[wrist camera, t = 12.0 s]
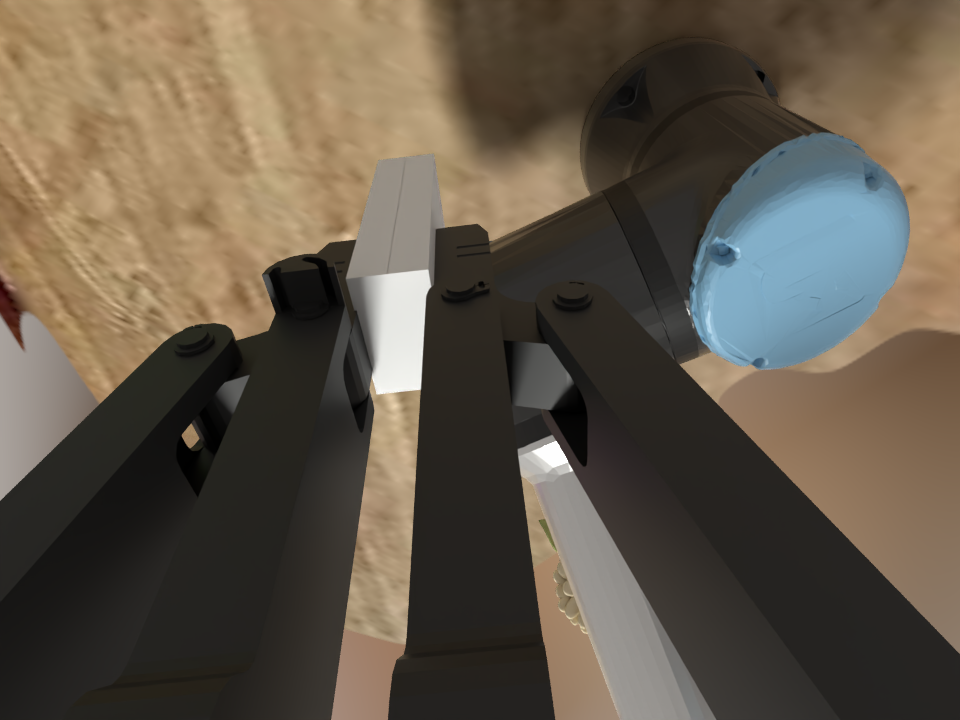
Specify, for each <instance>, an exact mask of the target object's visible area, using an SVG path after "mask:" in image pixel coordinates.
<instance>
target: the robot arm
mask: <svg viewBox="0 0 960 720" xmlns="http://www.w3.org/2000/svg"><path fill="white" fill-rule="evenodd" d="M580 162H581V170H582V175H583V178H584V181H585V184H586V187H587V189H588V191H589V193H590V196H588V197H586V198H584V199H582V200H580V201H578V202H576V203H574V204H572V205H569V206H567V207H565V208H563V209H561V210H559V211H557V212H555V213H553V214H551V215H548V216H546V217H544V218H542V219H540V220H538V221H535V222H533V223H531V224H529V225H527V226H525V227H522V228H520V229H518V230H516V231H514V232H511V233H509V234H507V235H505V236H503V237H501V238H498V239H496V240H494V241H489V237H488V232H487V231H486V230H484V229H483V228H482V227H481V226H480V225H478V224H473V225H464V226H456V227H447V228H445V226H444V219H443V212H442V205H441V199H440V192H439V185H438V178H437V171H436V165H435V158H434V154H427V155H418V156H410V157H401V158H393V159H385V160H378V164H377V168H376V171H375V175H374V178H373V182H372V186H371V189H370V193H369V197H368V200H367V204H366V207H365V211H364V215H363V218H362V222H361V226H360V229H359V233H358V236H357V240H349V241H341V242H332V243H329V244H328V245H326V246H325V247H324V248H323V249H322V250H321V251H320V252H318V253H317V254H303V255H298V256H293V257H290V258H287V259H284V260H282V261H279V262H277V263H275V264H274V265H272V266H270V267H269V268H267V270H266V271H265V272H264V273H263V274H262V277H263V280H264V282H265V285H266V288H267V291H268V293H269V296H270V299H271V302H272V304H273V307H274V310H275V313H276V314H275V317H274V319H273V321H272V324H271V326H270V329H269V331H266V332H263V333H261V334H258V335H254V336H251V337H247V338H244V339H241V340H237V341H236V339H235V337H234V334H233V332H232V330H231V329H230V328H229V327H227V326H226V325H222V324H216V323H212V324H199V325H195V326H194V327H193V326H191V327H188V328H185V329H184V330H183V331H181V332H179V333H177V334H175V335H173V336H172V337H170V338H169V339H168V340H166V341H165V342H164V343H163V344H161V345H160V346H159V347H158V348H157V349H156V350H155V351H154V352H153V353H152V354H151V355H150V356H149V357H148V358H147V359H146V360H145V361H144V362H143V363H142V364H141V365H140V366H139V367H138V368H137V369H136V370H135V371H134V372H133V373H132V374H131V375H130V376H128V377H127V378H126V379H125V380H124V381H123V382H122V383H121V384H120V385H119V386H118V387H117V388H116V389H115V390H114V391H113V392H112V393H111V394H110V395H109V396H108V397H107V398H106V399H105V400H104V401H103V402H102V403H101V404H100V405H99V406H98V407H97V408H95V409H94V410H93V411H92V412H91V413H90V414H89V416H87V417H86V418H85V419H84V420H83V421H82V422H81V423H80V424H79V425H78V426H77V427H76V428H75V429H74V430H73V431H72V432H71V433H70V434H69V435H68V436H67V437H66V438H65V439H63V440H62V442H60V443H59V444H58V445H57V446H56V447H55V448H54V449H53V450H52V451H51V452H50V453H49V454H48V455H47V456H46V457H45V458H44V459H43V460H42V461H41V462H40V463H39V464H38V465H37V466H36V467H35V468H34V469H33V470H32V471H30V472H29V473H28V474H27V475H26V476H25V478H23V479H22V480H21V481H20V482H19V483H18V484H17V485H16V486H15V487H14V488H13V489H12V490H11V491H10V492H9V493H8V494H7V495H6V496H5V497H4V498H3V499H2V500H1V501H0V720H331V716H332V709H333V702H334V694H335V688H336V680H337V673H338V666H339V658H340V651H341V645H342V638H343V630H344V623H345V616H346V609H347V602H348V595H349V588H350V580H351V573H352V566H353V559H354V552H355V545H356V538H357V531H358V523H359V516H360V509H361V502H362V495H363V488H364V481H365V473H366V466H367V459H368V452H369V445H370V438H371V431H372V424H373V416H374V405H373V401H372V397H371V394H370V390H369V388H370V382H371V376H372V378H373V382H374V386H375V389H376V393H377V394H384V393H393V392H402V391H412V390H421V395H420V413H419V430H418V448H417V466H416V484H415V501H414V519H413V537H412V554H411V572H410V590H409V608H408V625H407V639H406V648H405V652H404V655H402V656H401V657H400V658H399V659H397V660H396V664H395V667H394V671H393V674H392V683H391V691H390V700H389V714H388V720H555V715H554V707H553V700H552V693H551V686H550V679H549V671H548V664H547V657H546V651H545V645H544V642H543V637H542V631H541V624H540V616H539V608H538V601H537V593H536V586H535V578H534V571H533V563H532V555H531V548H530V540H529V533H528V525H527V518H526V510H525V502H524V495H523V487H522V480H521V476H522V477H524V478H525V479H527V480H528V481H529V482H530V483H531V484H532V485H533V487H534V490H535V493H536V495H537V498H538V501H539V503H540V506H541V509H542V511H543V514H544V517H545V520H546V522H547V525H548V528H549V530H550V533H551V536H552V538H553V541H554V544H555V546H556V549H557V552H558V554H559V557H560V560H561V563H562V565H563V568H564V571H565V573H566V576H567V579H568V581H569V584H570V587H571V590H572V592H573V595H574V598H575V600H576V603H577V606H578V608H579V611H580V614H581V616H582V619H583V622H584V625H585V627H586V630H587V633H588V635H589V638H590V641H591V643H592V646H593V648H594V651H595V654H596V657H597V660H598V662H599V665H600V668H601V670H602V673H603V676H604V678H605V681H606V683H607V686H608V689H609V692H610V694H611V697H612V700H613V702H614V705H615V708H616V711H617V713H618V716H619V719H620V720H960V654H959V653H958V652H957V651H956V650H955V649H954V648H953V647H952V646H951V645H950V644H949V643H948V642H947V641H946V639H944V637H942V635H941V634H940V633H939V632H938V631H937V630H936V629H935V628H934V627H933V626H932V625H931V624H930V623H929V622H928V621H927V620H926V619H925V618H924V617H923V616H922V615H921V614H920V613H919V612H918V611H917V610H916V609H915V608H914V606H913V605H912V604H910V602H909V601H908V600H907V599H906V598H905V597H904V596H903V595H902V594H901V593H900V592H899V591H898V590H897V589H896V588H895V587H894V586H893V585H892V584H891V583H890V582H889V581H888V580H887V579H886V578H885V577H884V576H883V574H882V573H880V571H879V570H878V569H877V568H876V567H875V566H874V565H873V564H872V563H871V562H870V561H869V560H868V559H867V558H866V557H865V556H864V555H863V554H862V553H861V552H860V551H859V550H858V549H857V548H856V547H855V546H854V545H853V544H852V543H851V542H850V541H849V539H848V538H847V537H846V536H845V535H844V534H843V533H842V532H841V531H840V530H839V529H838V528H837V527H836V526H835V525H834V524H833V523H832V522H831V521H830V520H829V519H828V518H827V517H826V516H825V515H824V514H823V513H822V512H821V511H820V510H819V508H818V507H816V505H814V503H813V502H812V501H811V500H810V499H809V498H808V497H807V496H806V495H805V494H804V493H803V492H802V491H801V490H800V489H799V488H798V487H797V486H796V485H795V484H794V483H793V482H792V481H791V480H790V479H789V478H788V477H787V476H786V474H785V473H784V472H782V471H781V469H780V468H779V467H778V466H777V465H776V464H775V463H774V462H773V461H772V460H771V459H770V458H769V457H768V456H767V455H766V454H765V453H764V452H763V451H762V450H761V449H760V448H759V447H758V446H757V445H756V443H754V441H753V440H752V439H751V438H750V437H749V436H748V435H747V434H746V433H745V432H744V431H743V430H742V429H741V428H740V427H739V426H738V425H737V424H736V423H735V422H734V421H733V420H732V419H731V418H730V417H729V416H728V415H727V414H726V413H725V412H724V410H723V409H722V408H721V407H720V406H719V405H718V404H717V403H716V402H715V401H714V400H713V399H712V398H711V397H710V396H709V395H708V394H707V393H706V392H705V391H704V390H703V389H702V388H701V387H700V386H699V385H698V384H697V383H696V382H695V381H694V380H693V379H692V377H691V376H690V375H689V374H688V373H687V372H686V371H685V370H684V369H683V368H682V367H681V366H680V365H679V364H682V363H684V362H687V361H689V360H692V359H695V358H697V357H700V356H703V355H705V354H708V353H710V352H713V353H716V355H717V356H720V357H722V358H723V359H725V360H727V361H729V362H731V363H733V364H735V365H738V366H748V365H749V364H751V365H753V366H754V367H755V368H757V369H759V370H760V369H779V368H784V367H788V366H793V365H796V364H799V363H802V362H805V361H808V360H810V359H812V358H815V357H817V356H819V355H820V354H822V353H824V352H826V351H828V350H830V349H831V348H833V347H835V346H836V345H838V344H839V343H841V342H842V341H844V340H845V339H846V338H847V337H849V336H850V335H851V334H852V333H854V332H855V331H856V330H857V329H858V328H859V327H860V326H861V325H863V324H864V322H865V321H866V320H867V319H868V318H869V317H870V316H871V315H872V314H873V313H874V312H875V311H876V309H877V308H878V303H879V301H880V299H881V298H882V297H883V296H884V294H885V293H886V292H887V291H888V290H889V289H890V288H891V287H892V286H893V285H894V283H895V281H896V279H897V277H898V274H899V272H900V270H901V267H902V265H903V262H904V259H905V256H906V252H907V248H908V242H909V235H910V219H909V211H908V206H907V202H906V199H905V196H904V194H903V192H902V190H901V188H900V186H899V185H898V183H897V181H896V180H895V179H894V178H893V176H892V175H891V174H890V173H889V172H888V171H887V170H886V169H885V168H883V167H882V166H881V165H879V164H878V163H877V162H876V161H874V160H873V159H872V158H870V157H869V156H868V155H867V154H865V151H864V150H863V149H862V148H861V147H859V145H858V144H856V143H854V142H853V141H852V140H850V139H847V138H844V137H843V136H839V135H836V134H834V133H832V132H830V131H829V130H827V129H825V128H823V127H821V126H819V125H817V124H815V123H813V122H811V121H809V120H807V119H805V118H803V117H802V116H800V115H798V114H796V113H794V112H792V111H790V110H788V109H786V108H784V107H782V106H781V104H780V101H779V98H778V95H777V92H776V89H775V87H774V85H773V83H772V81H771V79H770V78H769V76H768V75H767V73H766V72H765V71H764V69H763V68H762V67H761V66H760V65H759V64H758V63H757V62H756V61H755V60H754V59H753V58H751V57H750V56H749V55H747V54H746V53H744V52H742V51H740V50H738V49H736V48H734V47H732V46H730V45H728V44H725V43H723V42H720V41H717V40H713V39H707V38H681V39H675V40H671V41H667V42H664V43H661V44H658V45H656V46H653V47H651V48H649V49H647V50H645V51H643V52H642V53H640V54H638V55H637V56H635V57H634V58H632V59H631V60H630V61H628V62H627V63H626V64H625V65H623V66H622V67H621V68H620V69H619V70H618V71H617V72H616V73H615V74H614V75H613V76H612V77H611V78H610V79H609V81H608V82H607V83H606V84H605V86H604V87H603V88H602V90H601V91H600V93H599V94H598V96H597V97H596V99H595V101H594V103H593V105H592V107H591V109H590V111H589V113H588V116H587V118H586V122H585V125H584V128H583V132H582V138H581V146H580ZM191 423H192V425H193V427H194V429H195V431H196V433H197V434H198V436H199V438H200V439H199V440H198V441H197V443H196V444H195V445H194V446H193V447H192V448H189V447H187V445H186V443H185V442H184V440H183V438H182V434H183V432H184V431H185V430H186V429H187V428H188V426H189V425H190V424H191Z"/></svg>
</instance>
